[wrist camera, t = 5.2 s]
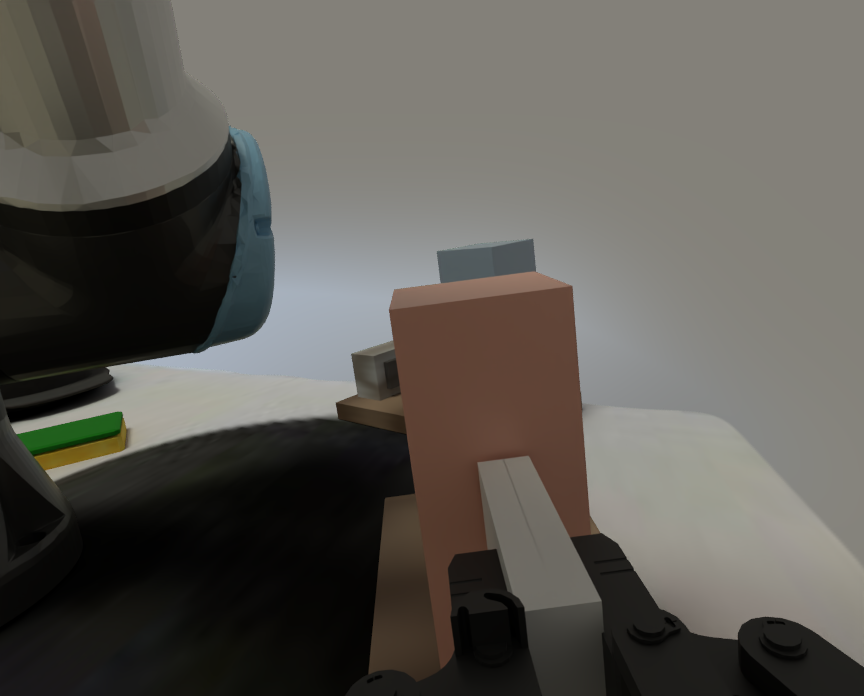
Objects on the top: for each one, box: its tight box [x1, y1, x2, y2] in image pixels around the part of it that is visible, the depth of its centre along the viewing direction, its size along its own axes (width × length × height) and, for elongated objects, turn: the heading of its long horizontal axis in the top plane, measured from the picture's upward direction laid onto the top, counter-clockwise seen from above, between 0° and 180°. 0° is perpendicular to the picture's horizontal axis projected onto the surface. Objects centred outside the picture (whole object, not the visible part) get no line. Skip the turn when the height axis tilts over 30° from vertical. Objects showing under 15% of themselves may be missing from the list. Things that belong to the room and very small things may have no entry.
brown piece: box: [368, 494, 600, 682], centre depth 23 cm, size 18×10×6 cm, turn 2°
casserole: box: [0, 367, 113, 413], centre depth 74 cm, size 25×19×8 cm
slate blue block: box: [437, 239, 536, 283], centre depth 44 cm, size 5×5×12 cm
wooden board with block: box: [336, 341, 582, 434], centre depth 48 cm, size 18×10×6 cm, turn 47°
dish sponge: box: [16, 412, 127, 470], centre depth 51 cm, size 7×14×2 cm, turn 116°
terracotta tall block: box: [389, 271, 591, 669], centre depth 19 cm, size 5×5×12 cm
